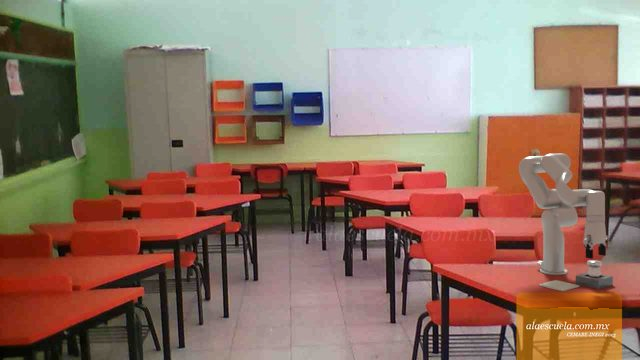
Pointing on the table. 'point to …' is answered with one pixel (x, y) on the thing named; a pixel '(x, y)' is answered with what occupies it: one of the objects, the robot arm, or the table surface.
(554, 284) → the sage mat
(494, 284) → the table surface
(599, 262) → the end cover
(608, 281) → the bore housing
